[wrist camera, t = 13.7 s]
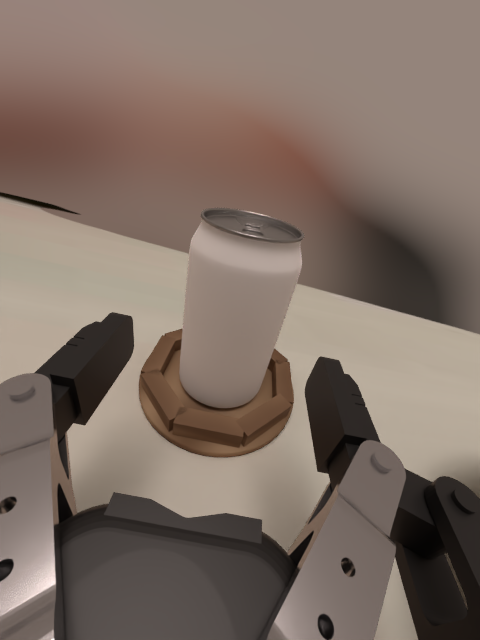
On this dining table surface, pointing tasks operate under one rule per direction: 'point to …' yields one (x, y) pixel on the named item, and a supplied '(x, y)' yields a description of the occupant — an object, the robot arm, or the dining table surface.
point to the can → (235, 303)
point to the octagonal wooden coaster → (209, 422)
